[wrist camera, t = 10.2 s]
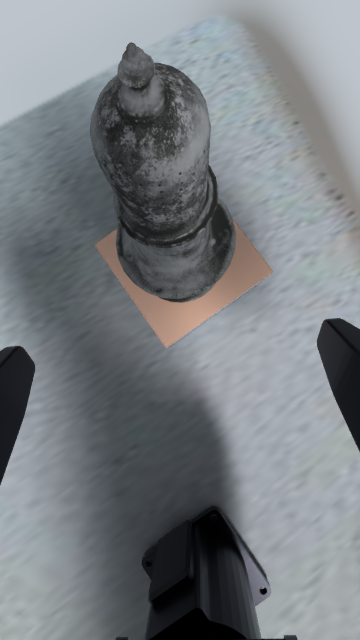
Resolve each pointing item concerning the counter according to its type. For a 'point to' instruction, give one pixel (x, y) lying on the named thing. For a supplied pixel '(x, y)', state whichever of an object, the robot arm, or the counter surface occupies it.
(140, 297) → the peach and grey block
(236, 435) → the counter surface
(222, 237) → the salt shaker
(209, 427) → the counter surface
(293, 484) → the counter surface
